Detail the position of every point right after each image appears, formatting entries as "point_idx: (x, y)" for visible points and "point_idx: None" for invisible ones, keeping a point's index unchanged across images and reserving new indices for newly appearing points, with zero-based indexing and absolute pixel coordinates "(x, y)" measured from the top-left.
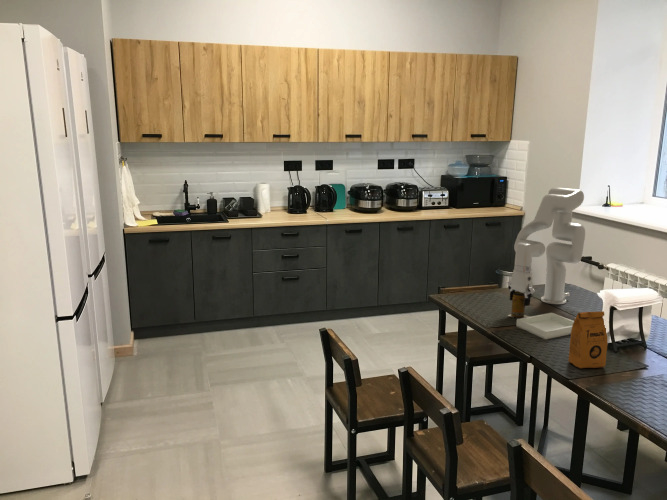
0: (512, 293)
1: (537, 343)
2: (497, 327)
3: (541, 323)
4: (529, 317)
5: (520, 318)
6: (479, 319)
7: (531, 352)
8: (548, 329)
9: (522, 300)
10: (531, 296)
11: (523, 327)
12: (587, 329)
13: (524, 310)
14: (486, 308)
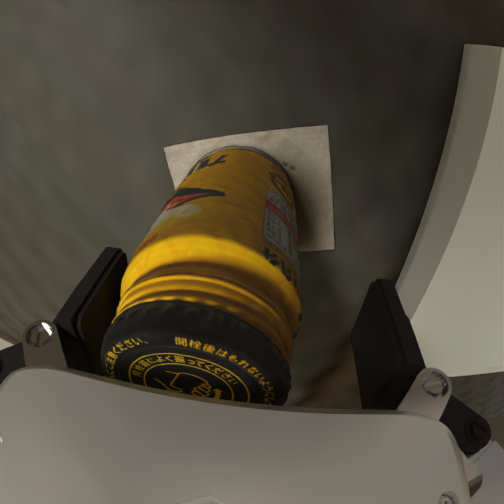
0: (100, 362)
1: (494, 378)
2: (310, 397)
3: (476, 226)
4: (425, 312)
5: (299, 231)
6: None
7: (485, 412)
8: None
9: (295, 335)
10: (456, 408)
11: None
12: None
13: (289, 201)
14: (36, 255)
